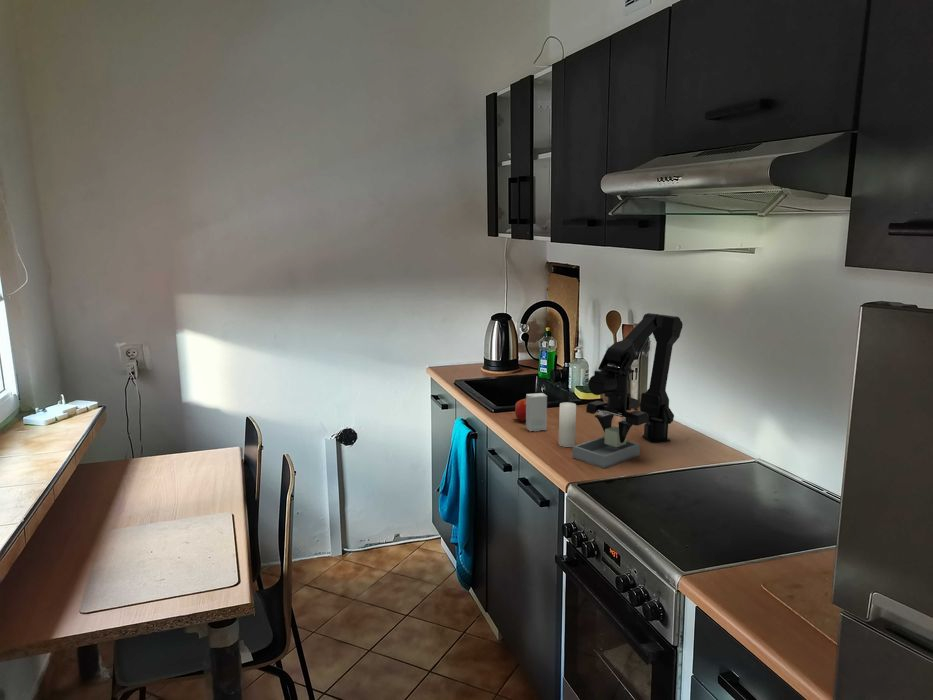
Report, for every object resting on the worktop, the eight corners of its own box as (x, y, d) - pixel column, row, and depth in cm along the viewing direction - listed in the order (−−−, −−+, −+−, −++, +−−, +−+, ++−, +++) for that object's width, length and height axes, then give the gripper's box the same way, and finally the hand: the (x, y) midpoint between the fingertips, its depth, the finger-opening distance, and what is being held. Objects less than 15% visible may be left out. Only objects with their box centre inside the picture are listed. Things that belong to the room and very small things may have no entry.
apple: (535, 425, 232) (536, 403, 230) (511, 423, 234) (511, 400, 233) (540, 419, 239) (540, 397, 238) (517, 417, 242) (517, 395, 240)
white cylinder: (571, 442, 215) (572, 401, 212) (577, 447, 210) (578, 406, 208) (556, 443, 214) (557, 402, 211) (562, 448, 209) (563, 407, 206)
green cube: (604, 443, 204) (604, 429, 203) (613, 440, 207) (614, 426, 206) (616, 447, 200) (617, 432, 200) (626, 444, 203) (626, 429, 202)
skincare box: (542, 427, 230) (543, 392, 228) (547, 431, 226) (548, 395, 223) (524, 428, 228) (525, 393, 226) (529, 432, 224) (530, 396, 222)
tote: (607, 445, 211) (608, 435, 210) (639, 455, 202) (640, 444, 202) (572, 457, 200) (572, 446, 200) (604, 468, 192) (604, 456, 191)
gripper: (661, 391, 199) (658, 442, 202) (609, 379, 212) (606, 428, 215) (638, 397, 191) (635, 450, 194) (585, 385, 205) (584, 435, 208)
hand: (615, 440), depth 203 cm, fingers closed on green cube, 4 cm apart
